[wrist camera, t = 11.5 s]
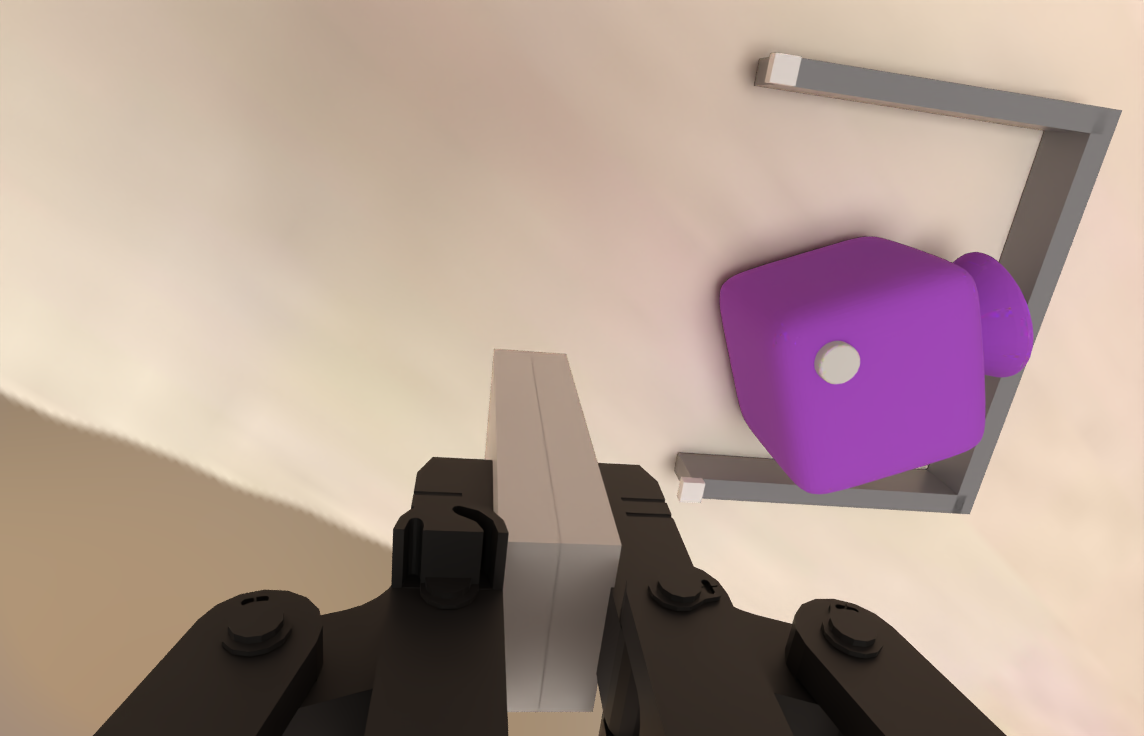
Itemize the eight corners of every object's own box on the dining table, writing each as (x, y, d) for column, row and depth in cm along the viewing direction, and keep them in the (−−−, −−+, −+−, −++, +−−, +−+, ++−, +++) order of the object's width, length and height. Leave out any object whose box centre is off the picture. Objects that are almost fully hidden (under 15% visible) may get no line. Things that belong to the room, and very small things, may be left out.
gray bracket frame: (747, 56, 34) (775, 52, 30) (1073, 109, 36) (1131, 110, 33) (664, 470, 41) (679, 501, 38) (938, 487, 44) (975, 518, 41)
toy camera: (966, 343, 41) (1109, 415, 31) (752, 448, 42) (829, 549, 32) (917, 171, 37) (1064, 195, 27) (681, 291, 38) (746, 354, 28)
